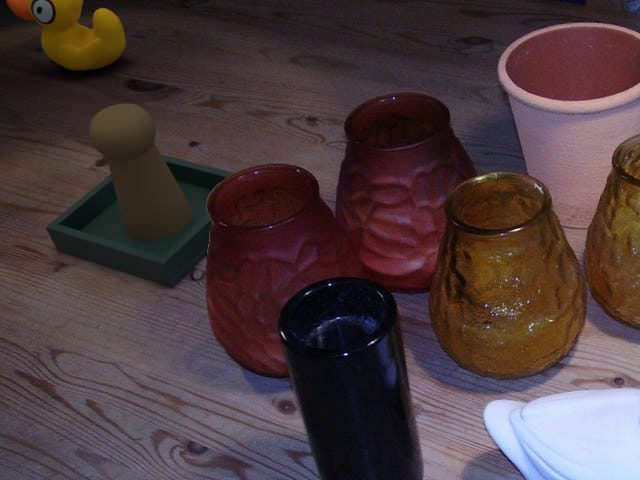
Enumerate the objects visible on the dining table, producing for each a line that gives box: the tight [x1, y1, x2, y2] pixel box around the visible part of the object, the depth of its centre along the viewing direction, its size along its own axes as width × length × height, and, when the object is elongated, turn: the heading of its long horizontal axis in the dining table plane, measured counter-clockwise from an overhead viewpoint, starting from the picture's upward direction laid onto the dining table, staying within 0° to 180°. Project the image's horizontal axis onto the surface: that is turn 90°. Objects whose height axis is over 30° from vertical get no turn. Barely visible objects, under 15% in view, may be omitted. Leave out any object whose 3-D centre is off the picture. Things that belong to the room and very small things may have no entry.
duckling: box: [5, 0, 127, 72], centre depth 109 cm, size 11×5×10 cm, turn 86°
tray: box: [45, 154, 234, 288], centre depth 89 cm, size 14×13×3 cm
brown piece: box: [88, 103, 193, 242], centre depth 86 cm, size 6×6×11 cm
